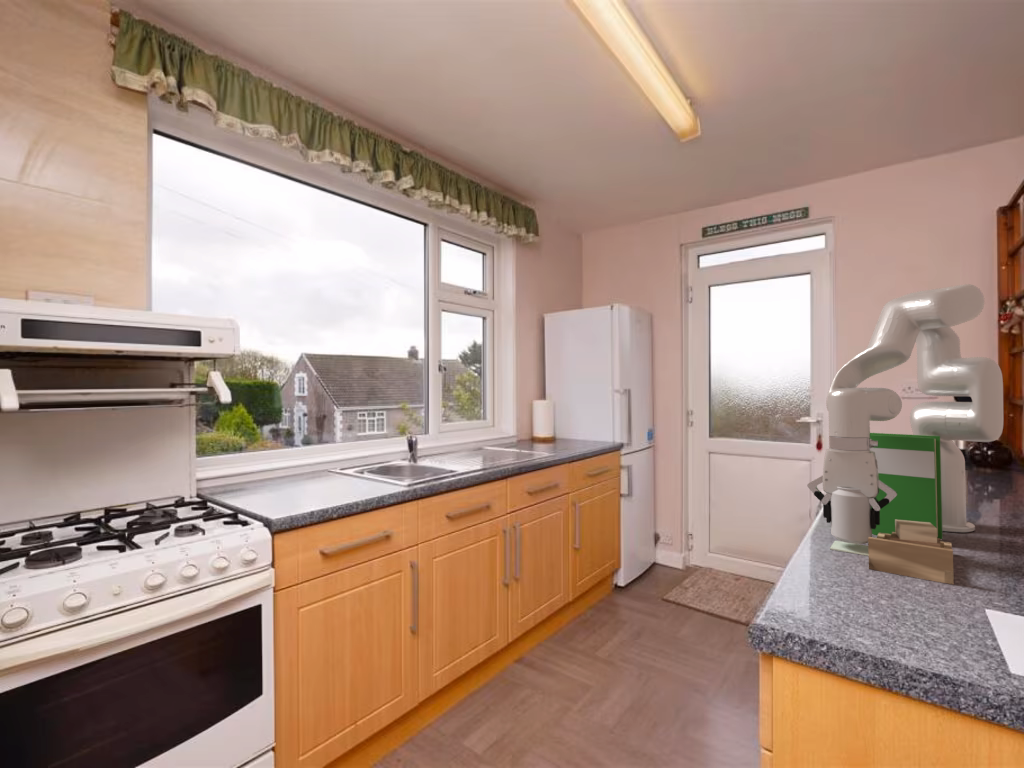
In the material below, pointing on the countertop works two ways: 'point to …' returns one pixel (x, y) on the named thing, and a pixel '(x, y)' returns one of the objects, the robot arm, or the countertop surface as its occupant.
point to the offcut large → (896, 538)
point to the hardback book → (909, 479)
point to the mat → (850, 548)
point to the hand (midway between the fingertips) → (851, 524)
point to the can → (850, 516)
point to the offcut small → (916, 531)
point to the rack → (911, 559)
